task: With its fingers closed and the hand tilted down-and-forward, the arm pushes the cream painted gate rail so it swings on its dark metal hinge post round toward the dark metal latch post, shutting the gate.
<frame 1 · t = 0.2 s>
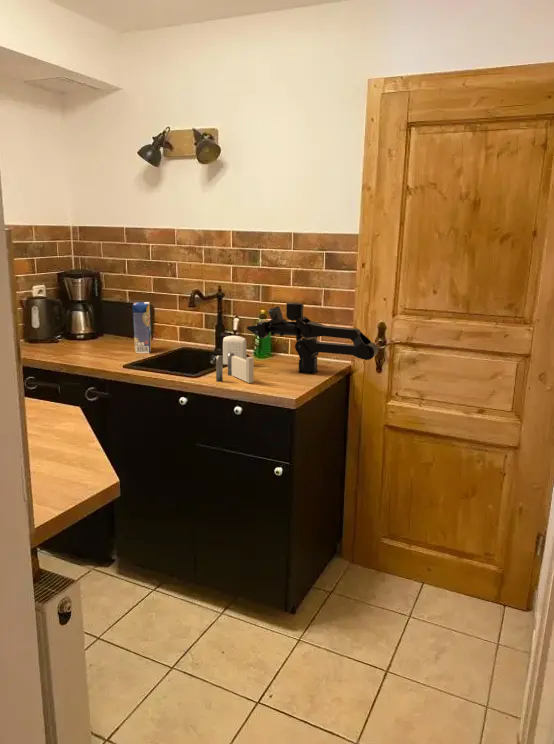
hand: (252, 326, 235), 17 cm above the counter, fingers open, 9 cm apart
gate: (242, 366, 214), point 5 cm above the counter, hinge at 36.0°
photo printer: (234, 365, 239), on the counter
latch post: (219, 380, 213), on the counter
beverage box: (143, 351, 264), on the counter
hinge post: (230, 374, 222), on the counter
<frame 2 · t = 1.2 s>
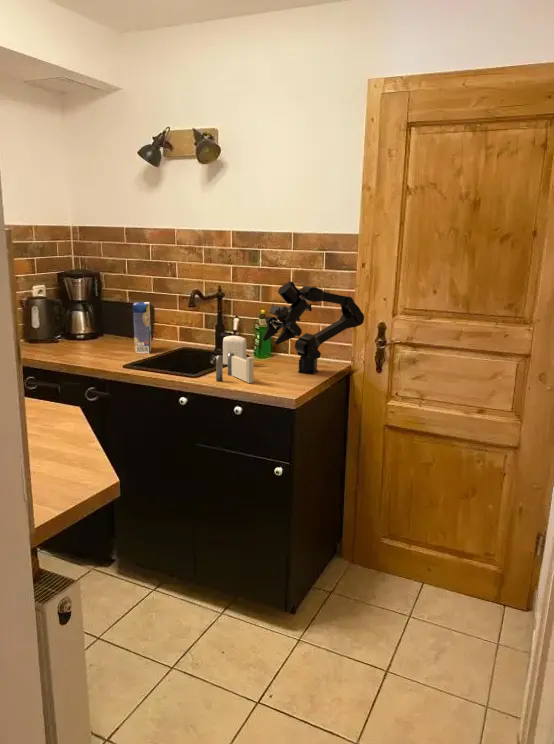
hand: (269, 342, 216), 14 cm above the counter, fingers open, 8 cm apart
nothing on the counter moved.
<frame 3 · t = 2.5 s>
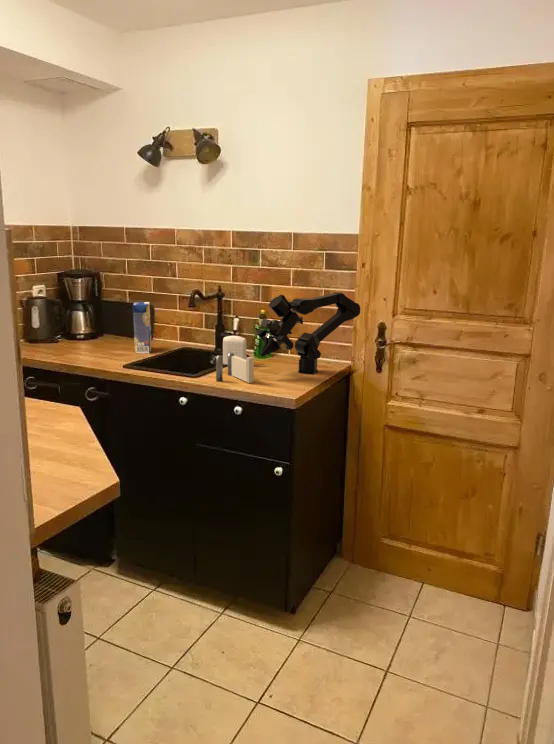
hand: (260, 356, 214), 9 cm above the counter, fingers closed
nothing on the counter moved.
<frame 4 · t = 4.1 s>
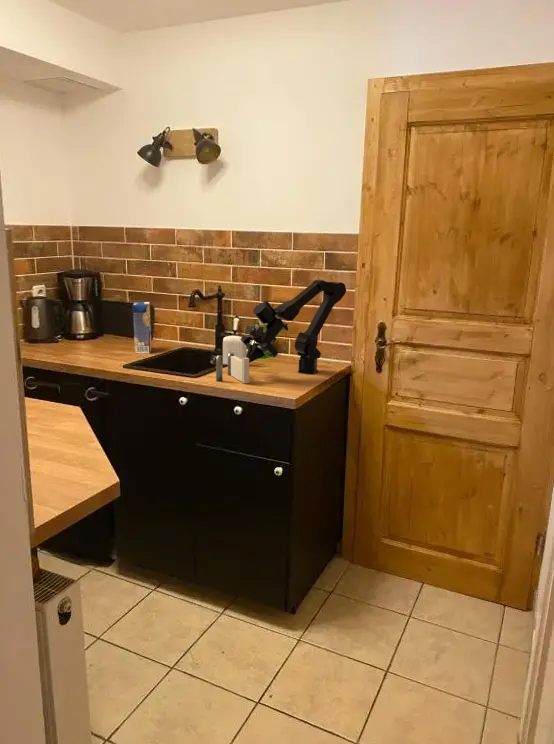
hand: (245, 363, 211), 7 cm above the counter, fingers closed, pressing on gate
gate: (239, 367, 213), point 5 cm above the counter, hinge at 28.9°, touching gripper
everything else where it was.
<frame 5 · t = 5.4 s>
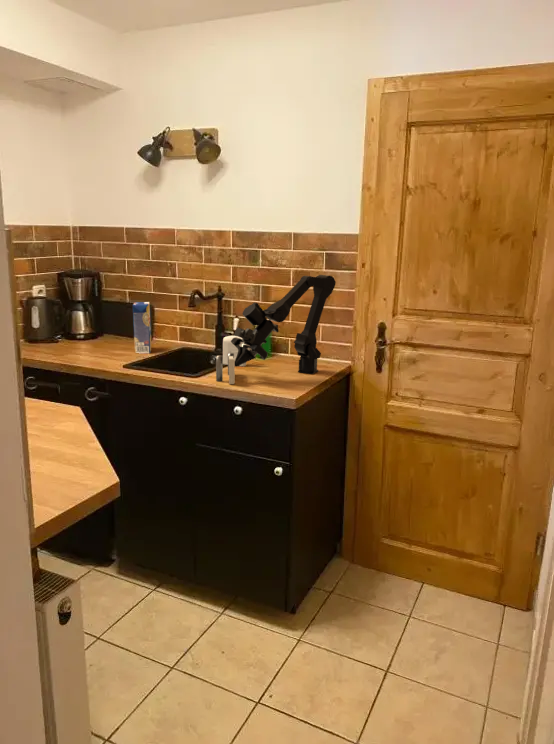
hand: (234, 365, 209), 6 cm above the counter, fingers closed
gate: (231, 367, 213), point 5 cm above the counter, hinge at 8.6°, touching gripper
everything else where it was.
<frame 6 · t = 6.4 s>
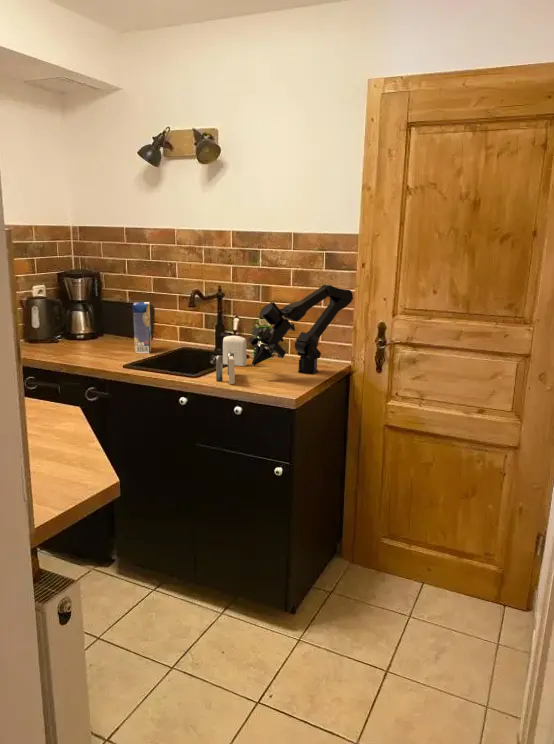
hand: (253, 364, 213), 6 cm above the counter, fingers closed
gate: (231, 367, 213), point 5 cm above the counter, hinge at 8.6°
everything else where it was.
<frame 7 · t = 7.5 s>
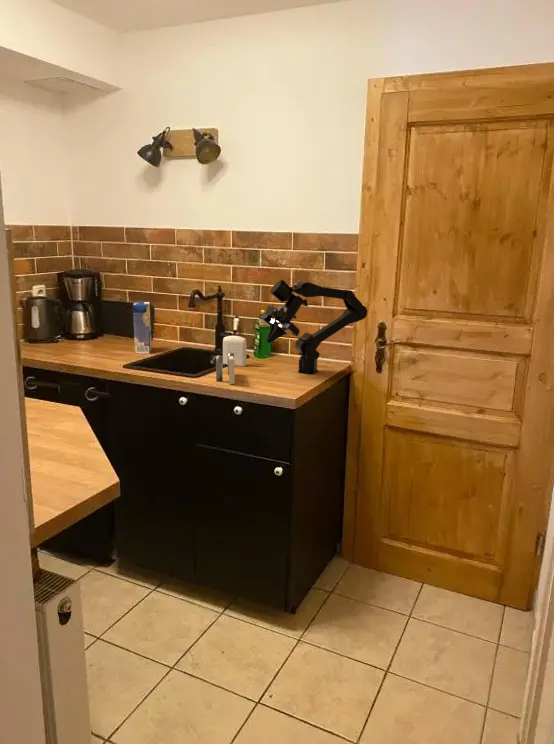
hand: (267, 342, 218), 13 cm above the counter, fingers closed
nothing on the counter moved.
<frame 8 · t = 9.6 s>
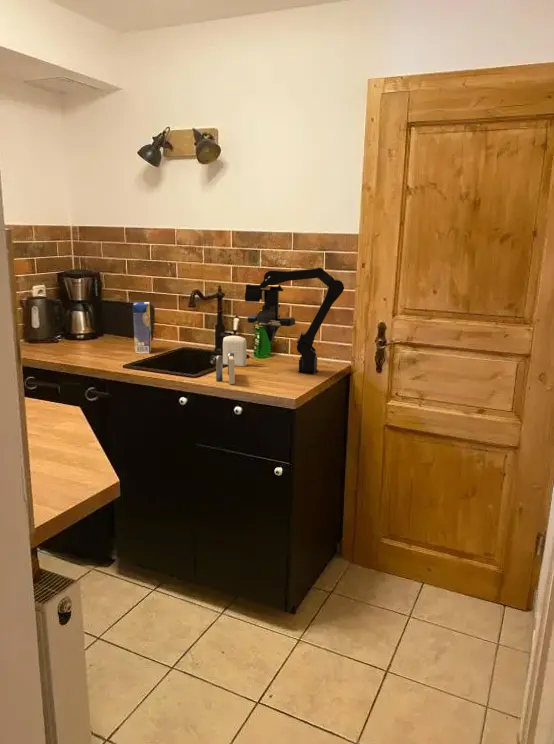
hand: (270, 341, 226), 12 cm above the counter, fingers closed
nothing on the counter moved.
at the end: gate at +9° (first picture: +36°) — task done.
